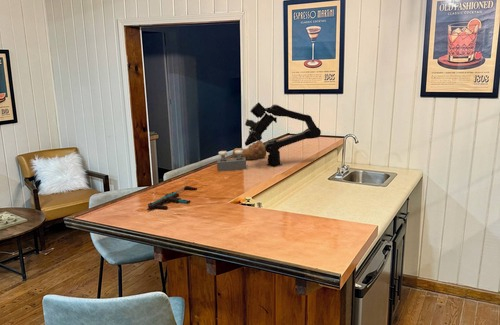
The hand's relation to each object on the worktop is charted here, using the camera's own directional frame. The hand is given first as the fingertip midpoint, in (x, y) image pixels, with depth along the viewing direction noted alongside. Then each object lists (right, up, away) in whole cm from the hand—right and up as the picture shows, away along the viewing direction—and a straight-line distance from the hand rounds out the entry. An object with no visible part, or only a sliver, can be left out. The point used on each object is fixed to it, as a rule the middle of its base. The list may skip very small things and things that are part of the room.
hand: (245, 144), depth 229 cm
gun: (-30, -27, -45) cm, 61 cm away
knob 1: (-12, -10, +2) cm, 16 cm away
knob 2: (-3, -10, +2) cm, 10 cm away
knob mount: (-8, -13, +3) cm, 16 cm away
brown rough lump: (+4, -8, +24) cm, 26 cm away
